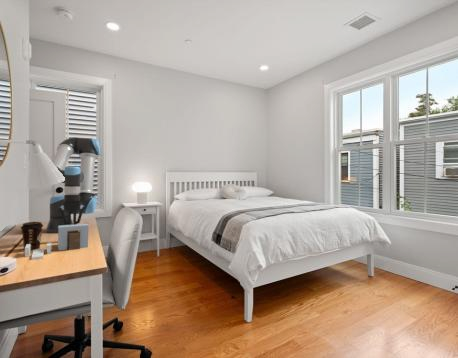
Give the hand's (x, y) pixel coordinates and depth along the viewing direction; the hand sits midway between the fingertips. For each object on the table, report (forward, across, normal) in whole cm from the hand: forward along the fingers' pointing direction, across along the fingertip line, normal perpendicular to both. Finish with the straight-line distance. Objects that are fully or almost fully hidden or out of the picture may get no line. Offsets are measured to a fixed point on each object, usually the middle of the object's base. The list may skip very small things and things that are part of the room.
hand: (71, 236), depth 142 cm
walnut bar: (+3, 0, -12) cm, 13 cm away
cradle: (+3, -14, -21) cm, 25 cm away
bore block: (+3, 0, -15) cm, 15 cm away
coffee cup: (+3, -17, -8) cm, 19 cm away
